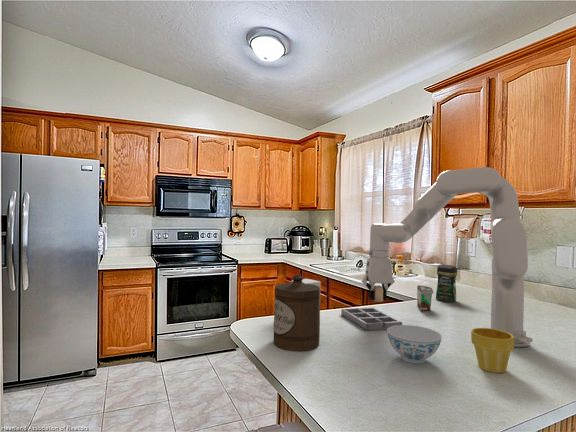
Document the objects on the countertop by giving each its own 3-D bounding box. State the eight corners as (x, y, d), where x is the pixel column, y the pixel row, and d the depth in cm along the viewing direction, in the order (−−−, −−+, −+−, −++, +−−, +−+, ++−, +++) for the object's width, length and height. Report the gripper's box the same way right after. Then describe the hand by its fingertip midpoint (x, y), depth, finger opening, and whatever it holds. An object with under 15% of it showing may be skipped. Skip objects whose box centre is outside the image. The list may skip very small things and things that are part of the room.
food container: (435, 313, 158) (436, 290, 158) (421, 312, 159) (421, 289, 159) (430, 306, 170) (430, 285, 170) (416, 305, 171) (417, 285, 171)
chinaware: (398, 346, 114) (398, 322, 114) (447, 358, 105) (448, 332, 105) (377, 359, 102) (378, 332, 103) (431, 374, 93) (431, 345, 93)
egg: (385, 301, 141) (385, 286, 141) (375, 301, 140) (375, 286, 140) (379, 299, 146) (380, 283, 146) (369, 299, 144) (370, 284, 145)
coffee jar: (433, 300, 185) (434, 264, 185) (439, 297, 191) (439, 263, 191) (453, 303, 179) (454, 266, 179) (458, 301, 184) (459, 265, 185)
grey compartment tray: (401, 328, 133) (402, 321, 133) (365, 330, 129) (365, 323, 129) (373, 313, 154) (373, 307, 154) (341, 314, 150) (341, 308, 151)
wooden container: (267, 337, 119) (269, 272, 119) (308, 334, 124) (309, 270, 124) (282, 353, 105) (284, 279, 105) (327, 348, 110) (329, 277, 110)
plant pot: (465, 367, 98) (465, 332, 99) (477, 358, 106) (478, 325, 106) (507, 380, 91) (508, 341, 91) (518, 369, 98) (518, 333, 98)
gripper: (364, 255, 137) (362, 302, 137) (402, 255, 142) (401, 301, 141) (355, 253, 145) (354, 297, 144) (392, 253, 149) (391, 297, 149)
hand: (377, 299), depth 143 cm, fingers closed on egg, 4 cm apart
